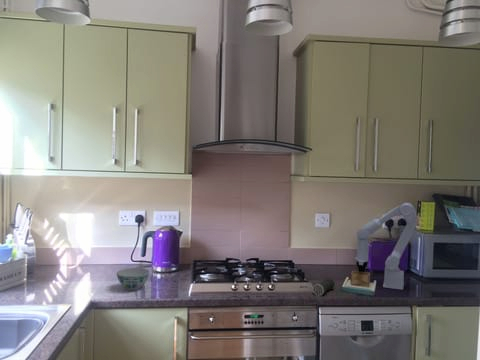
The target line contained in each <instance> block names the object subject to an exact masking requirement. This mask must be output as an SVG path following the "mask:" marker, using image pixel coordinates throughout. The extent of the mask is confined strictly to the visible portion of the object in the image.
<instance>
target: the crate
mask: <svg viewBox="0 0 480 360" xmlns="http://www.w3.org/2000/svg"><path fill="white" fill-rule="evenodd" d="M350 280H351V285H358V286H365V287H369V285H370V283H371V272H366V271H365V272H359V270H358V271H357V270H352V271H351V273H350Z"/></svg>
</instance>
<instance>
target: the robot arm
mask: <svg viewBox="0 0 480 360" xmlns="http://www.w3.org/2000/svg"><path fill="white" fill-rule="evenodd" d="M416 210H417V209H415V207H414V205H413V204H412V203H411V202H403V203H402V204H401V205H398V206H396V207H394V208H392V209H391V210H390V211H388V212H386V213H385V214H384V215H383V216H381V217H380V218H378V219H377V218H374V219H370V220H369V222H368V223H366V224H364V225H362V227H361V228H359V229H358V230H357V232H356V236H357V241H356V242H357V244H356V246H357V247H356V256H355V257H354V260H356V262H355V263H356V266H357V270H358V271H359V272H366V268H367V266H368V264H369V245H370V244H369V237H370V235H373V234H374V233H376V232H379V230H380V229H382V227H383V226H382V225H383V224H384V223H386V222H388V221H389V220H391V219H393V218H394V217H398V216H399V217H401V216H402V217H403V218H404V220H405V222H406V225H405V227H404V229H403V231H402V233H401V235H400V237H399V239H398V241H397V243H396V245H395V246H394V248H393V250H392V252H391V254H390V255H388V257H387V258H386V260H385V262H384V265H385V267H384V275H383V277H384V280H383V284H382V287H383V288H388V289H395V290H402V291H403V290H404V286H405V282H404V278H405V277H404V274H405V271H404V270H401V268H400V267H399V264H400V262H401V261H400V260H401V257H402V255H403V253H404V251H405V250H406V248H407V245H408V243H409V242H410V240H411V237H412V235H413V234H414V232H415V230H416V228H417V226H418V224H419V223H418V219H417V218H418V217H417V212H416Z"/></svg>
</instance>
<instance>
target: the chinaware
mask: <svg viewBox="0 0 480 360" xmlns="http://www.w3.org/2000/svg"><path fill="white" fill-rule="evenodd" d="M116 275H117V276H116V277H117V279H118V282H119V283H120V284H121V285H122V287H124V288H125V290H128V291H137V290H140V288H141V286H143V285H144V284H145V283H146V282H147V280H148V279H149V276H150V270H149V269H147V268H142V267H129V268H123V269H119V270H117V272H116Z"/></svg>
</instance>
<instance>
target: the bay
mask: <svg viewBox="0 0 480 360" xmlns="http://www.w3.org/2000/svg"><path fill="white" fill-rule="evenodd" d="M376 287H377V280H373V282H370V285H369V287H365V286H358V285H351V279H349V276H347V277H346V278H345V280H344V282H343V284H342V286H341V292H345V293H346V292H347V293H352V294H353V293H354V294H360V295H366V296H375V292H376Z"/></svg>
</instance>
